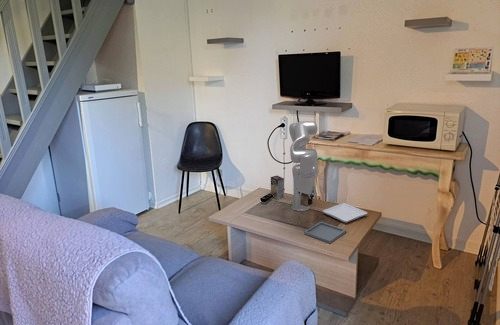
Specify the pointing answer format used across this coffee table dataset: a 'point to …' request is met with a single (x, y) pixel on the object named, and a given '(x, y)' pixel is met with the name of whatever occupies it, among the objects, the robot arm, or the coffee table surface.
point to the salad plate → (344, 212)
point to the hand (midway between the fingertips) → (306, 202)
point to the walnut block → (304, 200)
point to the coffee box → (277, 187)
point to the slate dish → (325, 232)
